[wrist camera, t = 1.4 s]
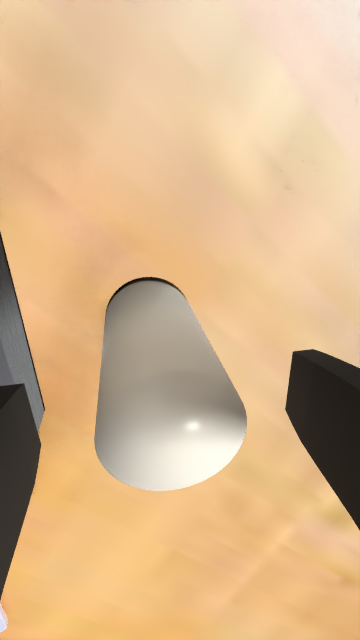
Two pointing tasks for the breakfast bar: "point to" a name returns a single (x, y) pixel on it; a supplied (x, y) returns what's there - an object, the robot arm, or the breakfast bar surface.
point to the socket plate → (16, 343)
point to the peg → (162, 392)
